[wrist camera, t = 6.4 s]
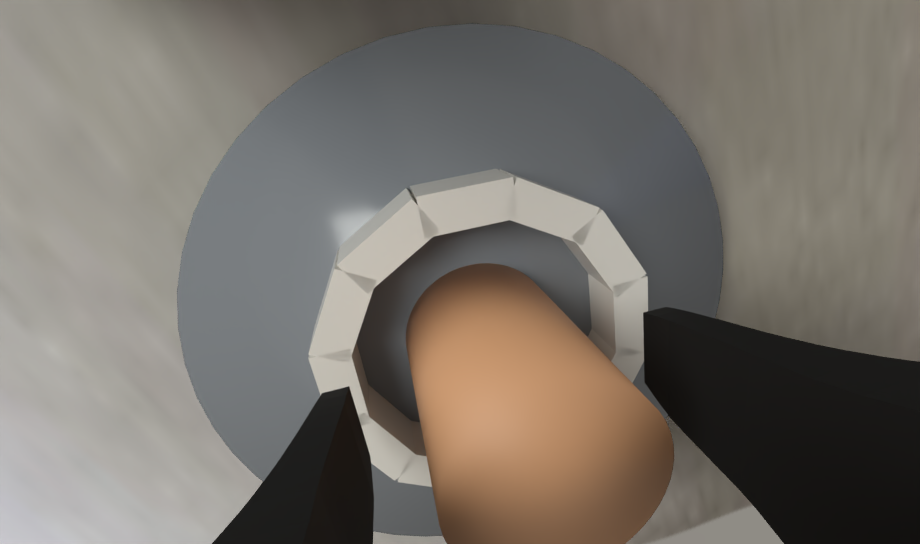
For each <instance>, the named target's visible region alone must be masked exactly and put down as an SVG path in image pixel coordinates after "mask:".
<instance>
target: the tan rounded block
mask: <svg viewBox="0 0 920 544" xmlns="http://www.w3.org/2000/svg"><path fill="white" fill-rule="evenodd" d="M406 347H407V354H408V359H409V364H410V370H411V375H412V381H413V386H414V391H415V397H416V402H417V408H418V413H419V418H420V424H421V429H422V435H423V440H424V445H425V451H426V456H427V462H428V467H429V472H430V478H431V483H432V489H433V494H434V499H435V505H436V510H437V516H438V521H439V526H440V529H441V532H442V535H443V537H444V539H445V541H446V542H447V544H625V543H626V542H628V541H629V540H630V539H631V538H632V537H633V536H634V535H635V534H636V533H637V532H638V531H639V530H640V529H641V528H642V527H643V526H644V525H645V524H646V522H647V521H648V520H649V519H650V518H651V516H652V515H653V513H654V512H655V510H656V509H657V507H658V506H659V504H660V502H661V500H662V498H663V496H664V495H665V492H666V490H667V487H668V485H669V482H670V478H671V474H672V470H673V462H674V446H673V440H672V436H671V432H670V430H669V427H668V425H667V422H666V421H665V419H664V417H663V416H662V414H661V413H660V411H659V410H658V409H657V408H656V407H655V406H654V405H653V404H652V403H651V402H650V401H649V400H648V399H647V398H646V397H645V396H644V395H643V394H642V393H641V392H640V391H639V390H638V389H637V387H636V386H635V385H634V384H633V383H632V382H631V381H630V380H629V379H628V378H627V377H626V376H625V375H624V374H623V373H622V372H621V371H620V370H619V369H618V368H617V367H616V366H615V365H614V364H613V363H612V362H611V361H610V360H609V359H608V358H607V357H606V356H605V355H604V354H603V352H602V351H601V350H600V349H599V348H598V347H597V346H596V345H595V344H594V343H593V342H592V341H591V340H590V339H589V338H588V337H587V336H586V335H585V334H584V333H583V332H582V331H581V330H580V329H579V328H578V327H577V326H576V325H575V324H574V323H573V322H572V321H571V320H570V319H569V317H568V316H567V315H566V314H565V313H564V312H563V311H562V310H561V309H560V308H559V307H558V306H557V305H556V304H555V303H554V302H553V301H552V300H551V299H550V298H549V297H548V296H547V295H546V294H545V293H544V292H543V291H542V290H541V289H540V288H539V287H538V286H537V285H536V284H535V282H534V281H533V280H532V279H530V278H529V277H528V276H526V275H525V274H523V273H522V272H520V271H518V270H516V269H514V268H511V267H508V266H504V265H500V264H492V263H479V264H473V265H468V266H464V267H461V268H458V269H455V270H453V271H451V272H449V273H447V274H445V275H444V276H442V277H440V278H439V279H438V280H436V281H435V282H434V283H432V284H431V285H430V286H429V287H428V288H427V289H426V290H425V291H424V292H423V294H422V295H421V296H420V297H419V299H418V300H417V302H416V304H415V305H414V307H413V309H412V311H411V314H410V316H409V320H408V323H407V328H406Z"/></svg>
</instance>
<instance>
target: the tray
mask: <svg viewBox="0 0 920 544" xmlns="http://www.w3.org/2000/svg"><path fill="white" fill-rule="evenodd" d="M479 263H492V264H500V265H504V266H508V267H511V268H514V269H516V270H518V271H520V272H522V273H523V274H525V275H526V276H528V277H529V278H530V279H532V280H533V281H534V282H535V284H536V285H537V286H538V287H539V288H540V289H541V290H542V291H543V292H544V293H545V294H546V295H547V296H548V297H549V298H550V299H551V300H552V301H553V302H554V303H555V304H556V305H557V306H558V307H559V308H560V309H561V310H562V311H563V312H564V313H565V314H566V315H567V316H568V317H569V319H570V320H571V321H572V322H573V323H574V324H575V325H576V326H577V327H578V328H579V329H580V330H581V331H582V332H583V333H584V334H585V335H586V336H587V337H588V338H589V339H590V340H591V341H592V342H593V343H594V344H595V345H596V346H597V347H598V348H599V349H600V350H601V351H602V352H603V354H604V355H605V356H606V357H607V358H608V359H609V360H610V361H611V362H612V363H613V364H614V365H615V366H616V367H617V368H618V369H619V370H620V371H621V372H622V373H623V374H624V375H625V376H626V377H627V378H628V379H629V380H630V381H631V382H632V383H633V384H634V385H635V386H636V387H637V389H638V390H639V391H640V392H641V393H642V394H643V395H644V396H645V397H646V398H647V399H648V400H649V401H650V402H651V403H652V404H653V405H654V406H655V407H656V408H657V409H658V410H659V411H660V413H661V414H662V416H663V417H664V419H665V418H666V417H667V416H668V414H667V413H666V412H665V410H664V409H663V408H662V406H661V405H660V404H659V402H658V401H657V400H656V398H655V397H654V395H653V394H652V392H651V391H650V390H649V388H648V387H647V385H646V384H645V382H644V332H643V312H647V311H651V310H655V309H659V308H663V307H670V308H676V309H680V310H685V311H689V312H693V313H697V314H700V315H704V316H708V317H711V318H715V317H716V312H717V308H718V304H719V300H720V291H721V283H722V274H723V238H722V231H721V224H720V217H719V211H718V206H717V202H716V199H715V195H714V192H713V189H712V185H711V182H710V178H709V176H708V173H707V171H706V169H705V167H704V165H703V162H702V160H701V158H700V156H699V154H698V151H697V149H696V147H695V145H694V144H693V142H692V141H691V139H690V138H689V136H688V135H687V133H686V132H685V130H684V129H683V127H682V126H681V124H680V122H679V121H678V119H677V118H676V117H675V116H674V115H673V114H672V112H671V111H670V110H669V109H668V108H667V107H666V106H665V105H664V103H663V102H662V101H661V100H660V99H659V98H658V97H657V96H656V95H655V93H654V92H653V91H651V90H650V89H649V88H648V87H646V86H645V85H644V84H643V83H642V82H640V81H639V80H638V79H637V78H635V77H634V76H633V75H632V74H631V73H629V72H628V71H627V70H626V69H624V68H622V67H621V66H619V65H617V64H616V63H614V62H612V61H610V60H609V59H607V58H605V57H604V56H602V55H600V54H599V53H597V52H595V51H593V50H591V49H589V48H586V47H584V46H581V45H579V44H576V43H574V42H571V41H569V40H566V39H563V38H561V37H558V36H556V35H552V34H547V33H543V32H538V31H534V30H529V29H525V28H520V27H516V26H503V25H489V24H474V23H471V24H459V25H447V26H435V27H426V28H422V29H418V30H414V31H409V32H405V33H401V34H397V35H392V36H388V37H384V38H382V39H379V40H377V41H374V42H372V43H369V44H367V45H364V46H362V47H359V48H356V49H354V50H351V51H349V52H346V53H344V54H342V55H340V56H338V57H336V58H335V59H333V60H331V61H330V62H328V63H326V64H324V65H323V66H321V67H319V68H318V69H316V70H314V71H312V72H311V73H309V74H307V75H305V76H304V77H302V78H301V79H300V80H298V81H297V82H296V83H295V84H293V85H292V86H291V87H290V88H288V89H287V90H286V91H285V92H283V93H282V94H281V95H280V96H278V97H277V98H276V99H275V100H273V101H272V102H271V103H270V104H268V105H267V106H266V107H265V108H264V109H263V110H262V111H261V112H260V114H259V115H258V116H257V117H256V118H255V119H254V120H253V121H252V122H251V123H250V124H249V125H248V127H247V128H246V129H245V130H244V131H243V132H242V133H241V134H240V135H239V136H238V137H237V138H236V140H235V141H234V143H233V144H232V146H231V147H230V149H229V150H228V152H227V153H226V155H225V156H224V157H223V159H222V160H221V162H220V163H219V165H218V166H217V168H216V169H215V171H214V172H213V174H212V175H211V177H210V179H209V182H208V184H207V186H206V188H205V190H204V192H203V194H202V196H201V199H200V201H199V203H198V205H197V207H196V209H195V211H194V213H193V217H192V220H191V224H190V227H189V230H188V234H187V237H186V241H185V244H184V248H183V251H182V257H181V264H180V272H179V280H178V288H177V305H178V330H179V336H180V341H181V346H182V351H183V356H184V361H185V366H186V368H187V371H188V374H189V377H190V380H191V382H192V385H193V388H194V391H195V393H196V396H197V398H198V400H199V402H200V404H201V406H202V408H203V409H204V411H205V413H206V415H207V417H208V419H209V420H210V422H211V424H212V426H213V428H214V429H215V430H216V432H217V433H218V434H219V435H220V437H221V438H222V439H223V441H224V442H225V443H226V445H227V446H228V447H229V449H230V450H231V451H232V453H233V454H234V455H235V456H236V457H237V458H238V459H239V460H240V461H241V462H242V463H243V464H244V465H245V466H246V467H247V468H248V469H249V470H250V471H251V472H252V473H253V474H254V475H255V476H257V477H258V478H259V479H261V480H262V481H264V480H265V479H266V477H267V476H268V475H269V473H270V472H271V471H272V469H273V468H274V466H275V465H276V464H277V462H278V461H279V459H280V458H281V456H282V455H283V453H284V452H285V450H286V449H287V447H288V446H289V444H290V443H291V441H292V440H293V438H294V437H295V435H296V434H297V432H298V430H299V429H300V427H301V426H302V424H303V422H304V421H305V419H306V418H307V416H308V414H309V413H310V411H311V410H312V408H313V406H314V405H315V403H316V402H317V400H318V399H319V397H320V396H321V394H322V393H325V392H328V391H332V390H336V389H340V388H344V387H348V386H349V387H350V391H351V394H352V397H353V401H354V404H355V407H356V410H357V414H358V417H359V420H360V424H361V427H362V430H363V434H364V437H365V440H366V444H367V447H368V450H369V454H370V457H371V468H372V479H373V492H374V519H373V531H375V532H381V533H387V534H393V535H408V536H443V535H442V532H441V529H440V526H439V521H438V516H437V510H436V505H435V499H434V494H433V489H432V483H431V478H430V472H429V467H428V462H427V456H426V451H425V445H424V440H423V435H422V429H421V424H420V418H419V413H418V408H417V402H416V397H415V391H414V386H413V381H412V375H411V370H410V364H409V359H408V354H407V347H406V328H407V323H408V320H409V316H410V314H411V311H412V309H413V307H414V305H415V304H416V302H417V300H418V299H419V297H420V296H421V295H422V294H423V292H424V291H425V290H426V289H427V288H428V287H429V286H430V285H431V284H432V283H434V282H435V281H436V280H438V279H439V278H440V277H442V276H444V275H445V274H447V273H449V272H451V271H453V270H455V269H458V268H461V267H464V266H468V265H473V264H479Z"/></svg>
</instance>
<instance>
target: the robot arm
mask: <svg viewBox="0 0 920 544" xmlns="http://www.w3.org/2000/svg"><path fill="white" fill-rule="evenodd" d="M643 332H644V382H645V384H646V385H647V387H648V388H649V390H650V391H651V392H652V394H653V395H654V397H655V398H656V400H657V401H658V402H659V404H660V405H661V406H662V408H663V409H664V410H665V412H666V413H667V414H668V416H669V417H670V418H671V419H672V420H673V421H674V422H675V423H676V424H677V425H678V426H679V427H680V428H681V430H682V431H683V432H684V433H685V434H686V435H687V436H688V437H689V438H690V439H691V440H692V441H693V442H694V443H695V444H696V445H697V446H698V447H699V448H700V449H701V450H702V452H703V453H704V454H705V455H706V456H707V457H708V458H709V459H710V460H711V461H712V462H713V463H714V464H715V465H716V466H717V467H718V468H719V469H720V470H721V471H722V472H723V473H724V474H725V475H726V476H727V477H728V478H729V480H730V481H731V482H732V483H733V484H734V485H735V486H736V487H737V488H738V489H739V490H740V491H741V492H742V493H743V494H744V495H745V497H746V498H747V499H748V500H749V501H750V502H751V503H752V504H753V506H754V507H755V508H756V509H757V510H758V512H759V513H760V514H761V515H762V516H763V518H764V519H765V520H766V522H767V523H768V524H769V525H770V527H771V528H772V529H773V530H774V532H775V533H776V534H777V535H778V536H779V538H780V539H781V540H782V542H783V543H784V544H920V362H917V361H908V360H901V359H894V358H887V357H880V356H875V355H869V354H863V353H858V352H852V351H846V350H840V349H835V348H830V347H825V346H821V345H816V344H812V343H807V342H803V341H799V340H795V339H790V338H786V337H782V336H778V335H774V334H770V333H766V332H762V331H759V330H755V329H751V328H747V327H744V326H740V325H737V324H733V323H729V322H726V321H722V320H719V319H715V318H711V317H708V316H704V315H700V314H697V313H693V312H689V311H685V310H680V309H676V308H670V307H663V308H659V309H655V310H651V311H647V312H643ZM373 519H374V492H373V479H372V468H371V457H370V454H369V450H368V447H367V444H366V440H365V437H364V434H363V430H362V427H361V424H360V420H359V417H358V414H357V410H356V407H355V404H354V401H353V397H352V394H351V391H350V387H349V386H348V387H344V388H340V389H336V390H332V391H328V392H325V393H322V394H321V396H320V397H319V399H318V400H317V402H316V403H315V405H314V406H313V408H312V410H311V411H310V413H309V414H308V416H307V418H306V419H305V421H304V422H303V424H302V426H301V427H300V429H299V430H298V432H297V434H296V435H295V437H294V438H293V440H292V441H291V443H290V444H289V446H288V447H287V449H286V450H285V452H284V453H283V455H282V456H281V458H280V459H279V461H278V462H277V464H276V465H275V466H274V468H273V469H272V471H271V472H270V473H269V475H268V476H267V477H266V479H265V480H264V481H263V483H262V484H261V486H260V487H259V488H258V490H257V491H256V492H255V494H254V495H253V496H252V497H251V499H250V500H249V501H248V503H247V504H246V505H245V506H244V507H243V509H242V510H241V511H240V512H239V513H238V515H237V516H236V517H235V518H234V519H233V520H232V522H231V523H230V524H229V525H228V526H227V527H226V528H225V530H224V531H223V532H222V533H221V534H220V535H219V536H218V538H217V539H216V540H215V541H214V542H213V543H212V544H373Z"/></svg>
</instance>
